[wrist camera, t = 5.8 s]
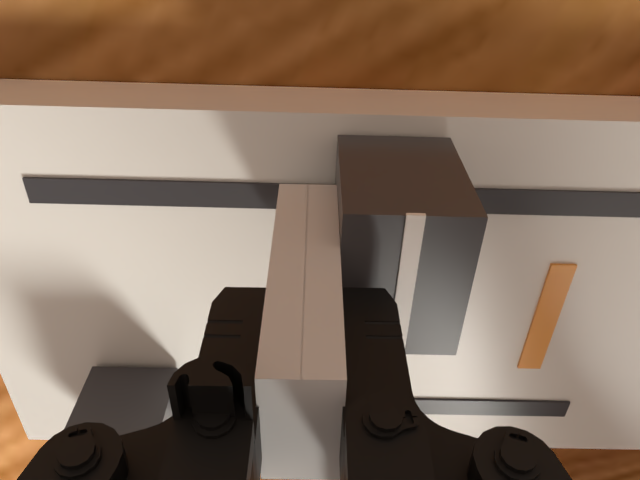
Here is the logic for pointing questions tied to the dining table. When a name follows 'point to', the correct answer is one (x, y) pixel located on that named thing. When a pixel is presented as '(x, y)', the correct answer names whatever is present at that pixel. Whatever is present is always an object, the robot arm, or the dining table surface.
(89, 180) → the mixing board
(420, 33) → the dining table surface
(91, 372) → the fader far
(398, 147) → the fader near
